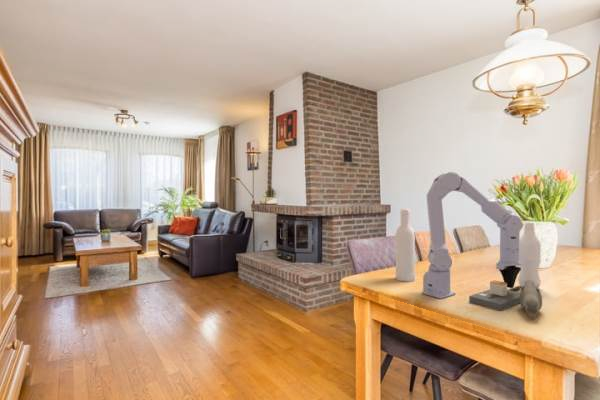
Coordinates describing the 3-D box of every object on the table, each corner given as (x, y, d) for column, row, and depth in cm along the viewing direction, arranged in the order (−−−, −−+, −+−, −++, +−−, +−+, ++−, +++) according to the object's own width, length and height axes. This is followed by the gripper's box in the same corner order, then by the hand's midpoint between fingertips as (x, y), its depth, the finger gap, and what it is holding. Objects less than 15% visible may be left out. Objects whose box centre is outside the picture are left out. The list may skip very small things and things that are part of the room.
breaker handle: (502, 296, 106) (502, 284, 106) (489, 293, 110) (490, 281, 110) (506, 294, 108) (506, 282, 108) (494, 291, 111) (494, 280, 111)
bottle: (396, 276, 142) (396, 208, 142) (415, 277, 140) (415, 208, 139) (395, 280, 135) (394, 209, 134) (414, 282, 132) (414, 209, 132)
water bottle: (535, 285, 126) (536, 222, 126) (544, 290, 120) (544, 223, 119) (514, 284, 128) (515, 222, 128) (522, 289, 122) (522, 223, 121)
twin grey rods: (518, 298, 112) (518, 295, 112) (501, 294, 116) (501, 291, 116) (533, 292, 118) (533, 289, 118) (517, 288, 123) (517, 285, 123)
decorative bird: (519, 319, 94) (520, 291, 94) (518, 302, 108) (519, 278, 108) (544, 323, 90) (544, 295, 90) (540, 305, 105) (540, 281, 105)
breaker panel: (501, 310, 100) (501, 304, 100) (469, 301, 108) (469, 295, 108) (527, 300, 110) (527, 293, 110) (496, 292, 118) (496, 286, 118)
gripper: (512, 252, 106) (512, 293, 106) (531, 248, 114) (531, 286, 114) (490, 249, 111) (489, 288, 112) (509, 245, 119) (509, 282, 120)
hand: (509, 287), depth 113 cm, fingers closed
